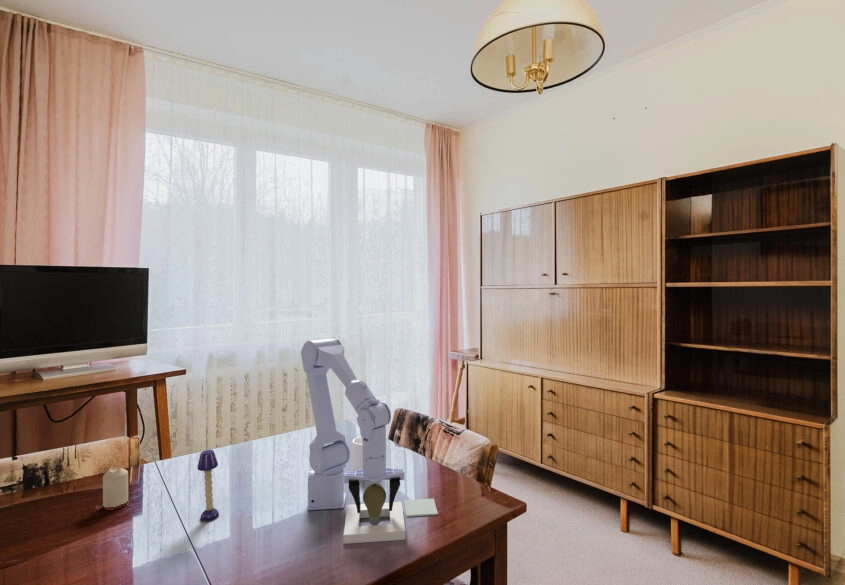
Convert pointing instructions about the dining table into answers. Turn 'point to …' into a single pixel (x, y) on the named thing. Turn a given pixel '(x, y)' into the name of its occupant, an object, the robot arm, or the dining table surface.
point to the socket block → (374, 532)
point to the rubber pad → (420, 507)
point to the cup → (357, 454)
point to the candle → (115, 487)
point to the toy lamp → (208, 483)
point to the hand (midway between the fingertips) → (374, 509)
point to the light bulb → (374, 501)
